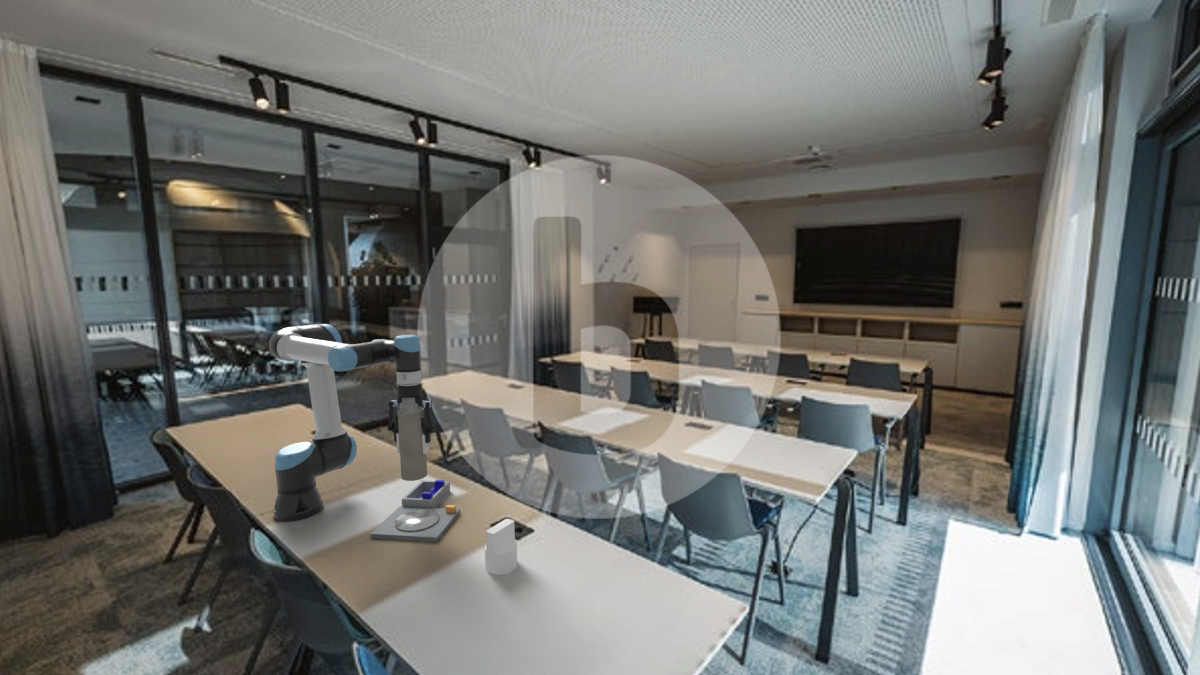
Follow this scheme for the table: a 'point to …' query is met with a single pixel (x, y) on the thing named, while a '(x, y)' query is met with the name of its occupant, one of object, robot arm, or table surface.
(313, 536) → the table surface
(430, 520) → the rosette base
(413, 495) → the desk organizer
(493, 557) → the cylinder with rectangular tab
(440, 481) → the blue stepped block
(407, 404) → the thermos bottle
